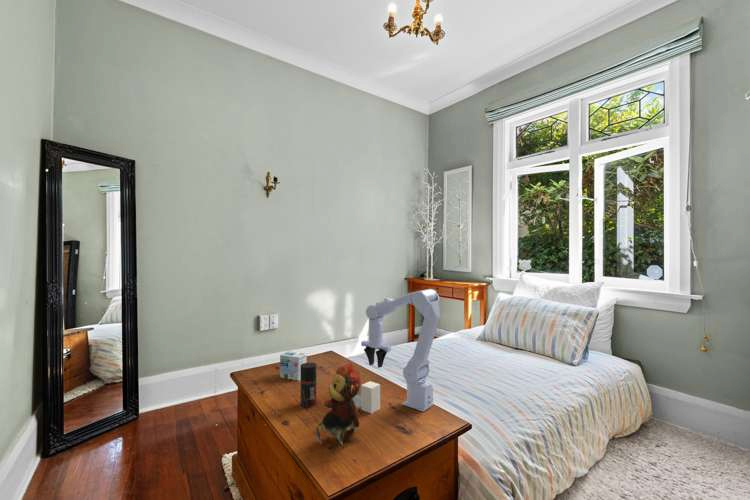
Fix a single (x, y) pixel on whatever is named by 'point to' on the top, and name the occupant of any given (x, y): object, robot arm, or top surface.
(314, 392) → the deodorant
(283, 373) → the light bulb box
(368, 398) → the block
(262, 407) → the top surface
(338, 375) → the stuffed monkey
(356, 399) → the grey flat panel
